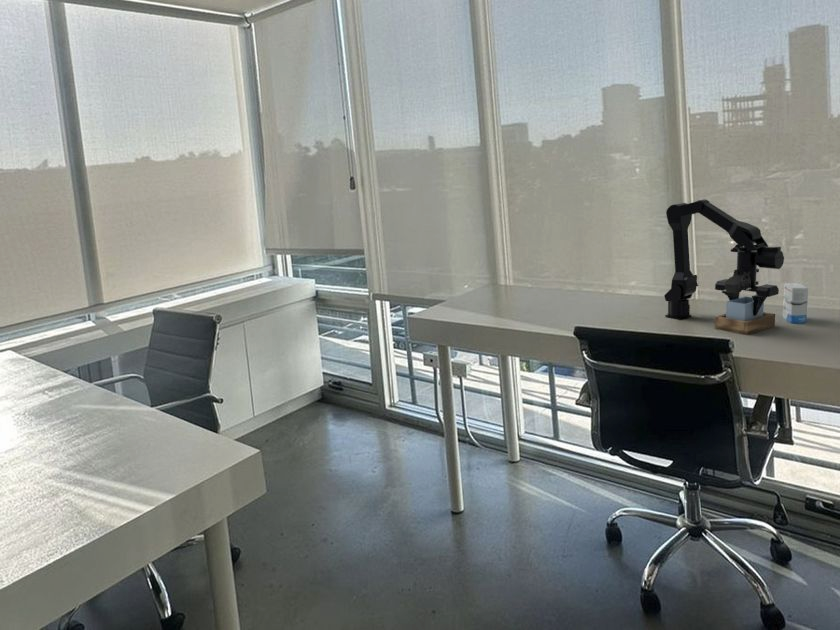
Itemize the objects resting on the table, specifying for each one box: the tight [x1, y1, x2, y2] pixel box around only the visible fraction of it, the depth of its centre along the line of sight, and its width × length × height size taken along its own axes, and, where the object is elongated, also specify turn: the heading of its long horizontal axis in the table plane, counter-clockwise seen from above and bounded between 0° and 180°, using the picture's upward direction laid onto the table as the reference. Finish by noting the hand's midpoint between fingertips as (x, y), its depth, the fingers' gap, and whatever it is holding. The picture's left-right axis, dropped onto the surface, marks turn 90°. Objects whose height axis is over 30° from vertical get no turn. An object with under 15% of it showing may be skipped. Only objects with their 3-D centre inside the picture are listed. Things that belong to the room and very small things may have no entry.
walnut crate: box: [714, 311, 776, 336], centre depth 220 cm, size 11×15×4 cm
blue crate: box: [725, 295, 765, 321], centre depth 219 cm, size 6×10×6 cm, turn 122°
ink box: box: [782, 282, 809, 324], centre depth 223 cm, size 8×5×12 cm, turn 168°
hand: (744, 313), depth 219 cm, fingers closed on blue crate, 6 cm apart
